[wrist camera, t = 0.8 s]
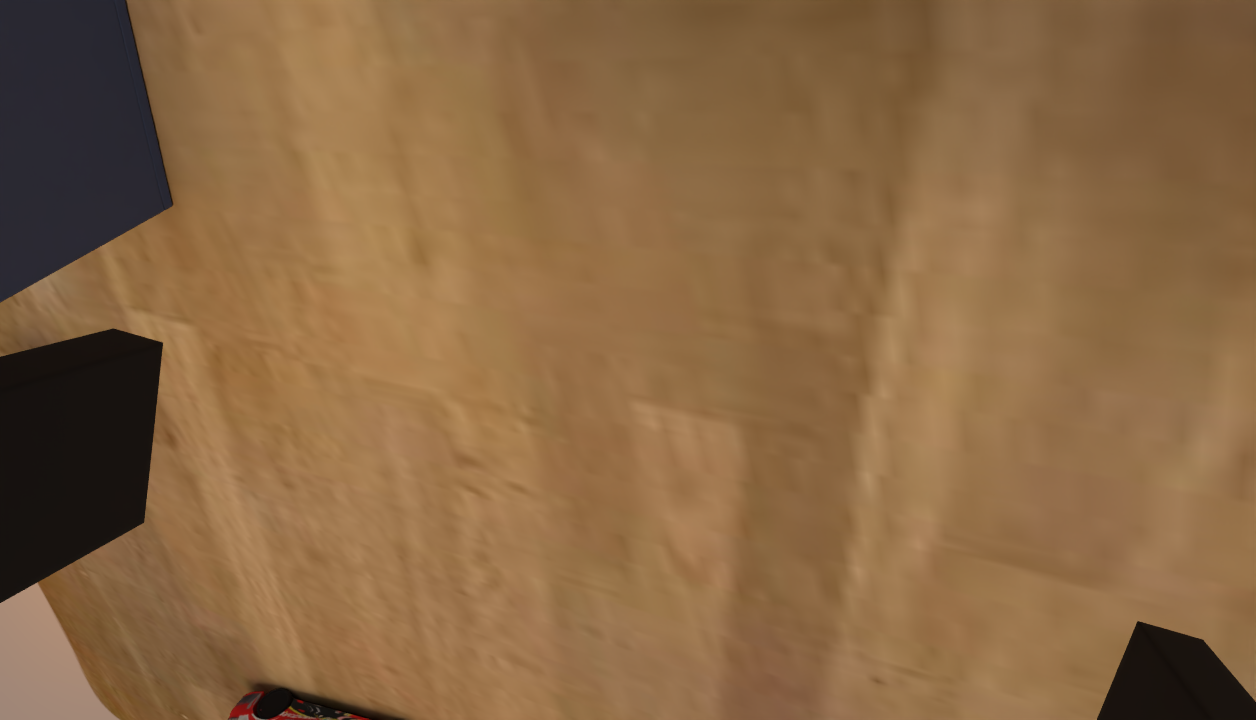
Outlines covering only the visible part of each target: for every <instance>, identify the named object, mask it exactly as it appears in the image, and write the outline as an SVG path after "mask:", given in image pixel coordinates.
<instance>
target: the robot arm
mask: <svg viewBox="0 0 1256 720" xmlns="http://www.w3.org/2000/svg"><path fill="white" fill-rule="evenodd" d="M162 348H163V343H162V342H159V341H155V340H152V339H148V338H145V337H141V336H138V335H134V334H131V333H127V332H124V331H120V330H117V329H110V330H106V331H102V332H98V333H94V334H90V335H86V336H82V337H78V338H74V339H70V340H66V341H62V342H58V343H54V344H50V345H46V346H42V347H38V348H34V349H30V350H25V351H21V352H17V353H13V354H9V355H5V356H1V357H0V603H1V602H3V601H5V600H6V599H8V598H10V597H12V596H14V595H16V594H17V593H19V592H21V591H23V590H25V589H26V588H28V587H30V586H31V585H33V584H35V583H37V582H39V581H41V580H42V579H44V578H46V577H48V576H50V575H51V574H53V573H55V572H57V571H58V570H60V569H62V568H64V567H66V566H67V565H69V564H71V563H73V562H75V561H76V560H78V559H80V558H82V557H83V556H85V555H87V554H89V553H91V552H92V551H94V550H96V549H98V548H100V547H101V546H103V545H105V544H107V543H108V542H110V541H112V540H114V539H116V538H117V537H119V536H121V535H123V534H125V533H126V532H128V531H130V530H132V529H133V528H135V527H137V526H139V525H141V524H142V523H144V518H145V509H146V499H147V490H148V480H149V471H150V462H151V452H152V443H153V433H154V424H155V414H156V405H157V395H158V386H159V376H160V367H161V357H162ZM1097 720H1256V702H1255V701H1254V699H1253V698H1252V697H1251V696H1250V695H1249V693H1248V692H1247V691H1246V690H1245V689H1244V688H1243V686H1242V685H1241V684H1240V683H1239V682H1238V681H1237V679H1236V678H1235V677H1234V676H1233V675H1232V673H1231V672H1230V671H1229V670H1228V669H1227V668H1226V666H1225V665H1224V664H1223V663H1222V662H1221V660H1220V659H1219V658H1218V657H1217V656H1216V655H1215V653H1214V652H1213V651H1212V650H1211V649H1210V648H1209V646H1208V645H1207V644H1206V643H1205V642H1204V640H1202V639H1199V638H1195V637H1192V636H1188V635H1185V634H1181V633H1178V632H1174V631H1171V630H1167V629H1164V628H1160V627H1157V626H1153V625H1150V624H1146V623H1143V622H1139V621H1138V622H1137V624H1136V626H1135V629H1134V631H1133V634H1132V636H1131V638H1130V641H1129V643H1128V646H1127V648H1126V651H1125V653H1124V655H1123V658H1122V660H1121V663H1120V665H1119V667H1118V670H1117V672H1116V675H1115V677H1114V679H1113V682H1112V684H1111V687H1110V689H1109V692H1108V694H1107V696H1106V699H1105V701H1104V704H1103V706H1102V708H1101V711H1100V713H1099V716H1098V718H1097Z"/></svg>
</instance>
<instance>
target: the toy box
mask: <svg viewBox="0 0 1256 720" xmlns="http://www.w3.org/2000/svg"><path fill="white" fill-rule="evenodd" d="M170 207H172V202H171V198H170V193H169V189H168V185H167V180H166V176H165V172H164V167H163V163H162V159H161V154H160V150H159V146H158V142H157V137H156V133H155V129H154V124H153V120H152V116H151V111H150V107H149V103H148V98H147V94H146V90H145V86H144V81H143V77H142V73H141V68H140V64H139V60H138V55H137V51H136V47H135V42H134V38H133V34H132V30H131V25H130V21H129V17H128V12H127V8H126V4H125V0H0V302H2V301H4V300H6V299H7V298H9V297H11V296H13V295H14V294H16V293H18V292H20V291H22V290H23V289H25V288H27V287H29V286H31V285H32V284H34V283H36V282H38V281H39V280H41V279H43V278H45V277H47V276H48V275H50V274H52V273H54V272H56V271H57V270H59V269H61V268H63V267H64V266H66V265H68V264H70V263H72V262H73V261H75V260H77V259H79V258H81V257H82V256H84V255H86V254H88V253H89V252H91V251H93V250H95V249H97V248H98V247H100V246H102V245H104V244H105V243H107V242H109V241H111V240H113V239H114V238H116V237H118V236H120V235H122V234H123V233H125V232H127V231H129V230H130V229H132V228H134V227H136V226H138V225H139V224H141V223H143V222H145V221H147V220H148V219H150V218H152V217H154V216H155V215H157V214H159V213H161V212H163V211H164V210H166V209H168V208H170Z"/></svg>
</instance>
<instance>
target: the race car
mask: <svg viewBox="0 0 1256 720" xmlns="http://www.w3.org/2000/svg"><path fill="white" fill-rule="evenodd" d="M228 720H370V719H367V718H363V717H359V716H356V715H352V714H348V713H345V712H341V711H337V710H334V709H330V708H327V707H323V706H319V705H316V704H312V703H308V702H305V701H301V700H297V699H294V698H293V697H292V695H291V693H290V692H289V691H288V690H286V689H275V690H273V691H270V692H269V693H267V694H266V695H265V693H264V692H263V691H261V692H251V693H248V694H246V695H245V696H243V698H242V699H241V700H240V701H239V702H238V704H237V705H236V706H235V707H234V708H233V710H232V711H231V713H230V717H229V718H228Z"/></svg>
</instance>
